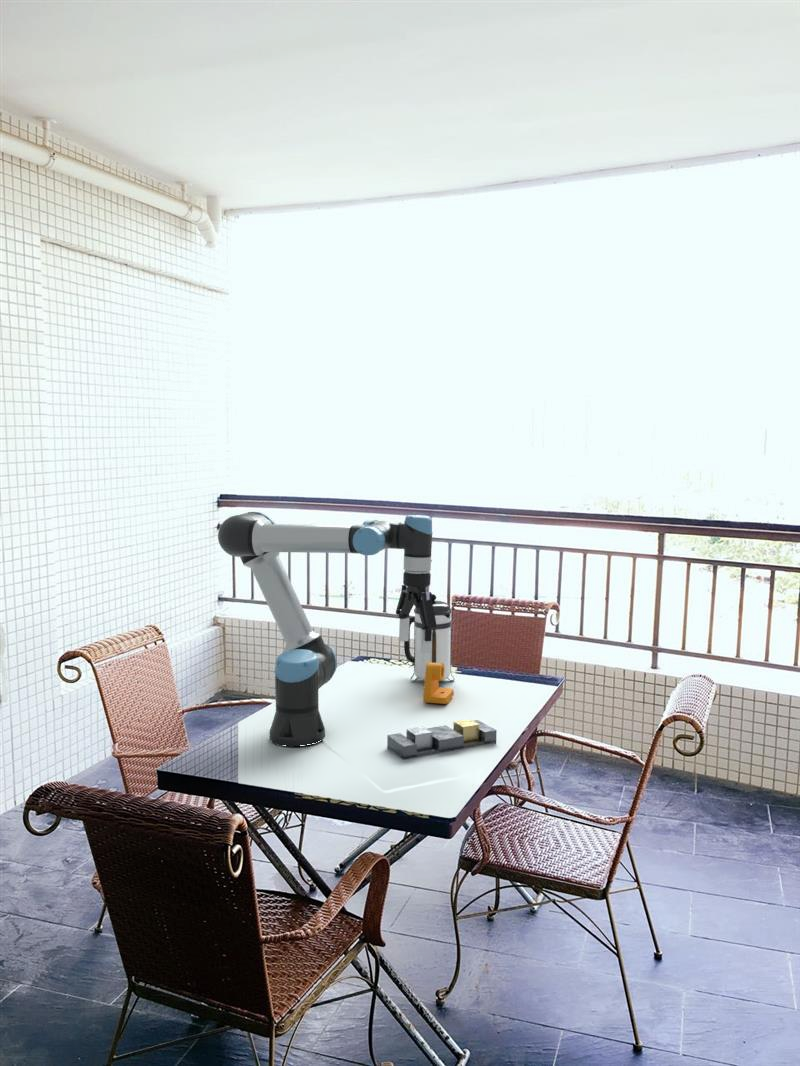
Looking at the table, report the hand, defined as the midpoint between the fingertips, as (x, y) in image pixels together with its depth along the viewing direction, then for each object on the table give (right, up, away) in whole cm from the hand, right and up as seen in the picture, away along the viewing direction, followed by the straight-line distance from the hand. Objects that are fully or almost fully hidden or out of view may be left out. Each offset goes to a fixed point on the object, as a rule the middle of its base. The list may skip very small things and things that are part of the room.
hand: (414, 646), depth 240 cm
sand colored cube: (+14, -24, -7) cm, 29 cm away
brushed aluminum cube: (+1, -25, -14) cm, 29 cm away
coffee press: (+6, -19, +53) cm, 57 cm away
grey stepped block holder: (+7, -25, -11) cm, 28 cm away
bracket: (+8, -21, +31) cm, 39 cm away
